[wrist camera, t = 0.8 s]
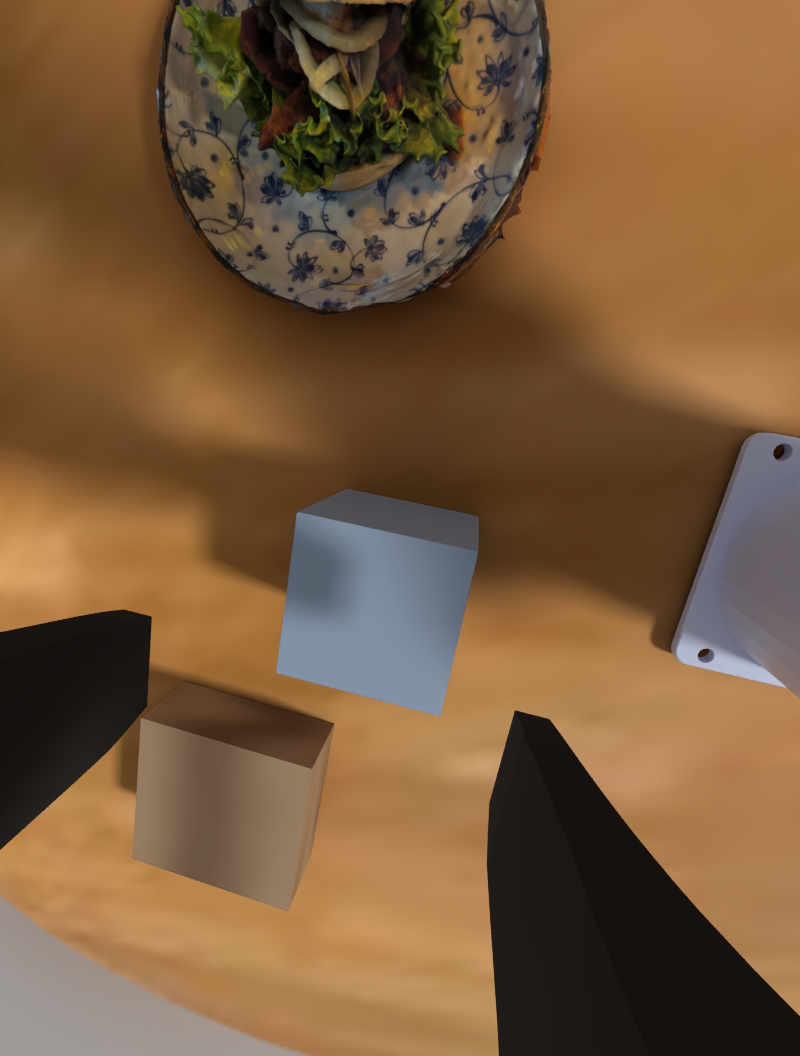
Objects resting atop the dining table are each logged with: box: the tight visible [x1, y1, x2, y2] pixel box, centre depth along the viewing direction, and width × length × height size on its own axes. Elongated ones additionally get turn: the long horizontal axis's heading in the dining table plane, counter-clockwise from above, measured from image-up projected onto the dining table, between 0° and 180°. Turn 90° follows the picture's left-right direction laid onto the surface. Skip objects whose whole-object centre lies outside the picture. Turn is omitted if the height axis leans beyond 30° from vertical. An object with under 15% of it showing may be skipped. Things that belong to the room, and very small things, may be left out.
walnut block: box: [133, 681, 334, 911], centre depth 20 cm, size 7×7×3 cm
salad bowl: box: [156, 0, 551, 315], centre depth 12 cm, size 12×12×8 cm
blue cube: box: [276, 489, 479, 716], centre depth 15 cm, size 5×5×5 cm
